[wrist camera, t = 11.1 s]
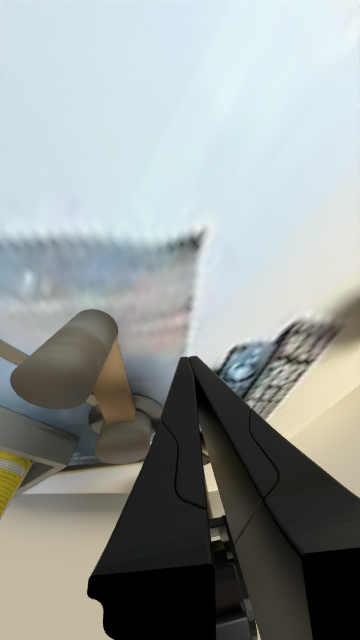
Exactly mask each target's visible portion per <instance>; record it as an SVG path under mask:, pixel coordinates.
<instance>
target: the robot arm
mask: <svg viewBox="0 0 360 640" xmlns="http://www.w3.org/2000/svg"><path fill="white" fill-rule="evenodd" d="M199 423H200V427H201V430H202V434H203V437H204V441H205V444H206V448H207V451H208V455H209V456H207V455H205V454H203V453H202V448H201V438H200V428H199ZM210 462H211V465H212V469H213V472H214V476H215V479H216V483H217V486H218V490H219V494H220V497H221V501H222V504H223V508H224V511H225V515H222V517H219V518H214V519H213V515H212V510H211V505H210V500H209V495H208V490H207V484H206V479H205V474H204V468H203V466H204V465H206V464H208V463H210ZM216 536H220V539H221V540H216V541H212V542H211V537H216ZM87 595H88V597H89V598H91V599H95V600H97V601H99V602H100V603H101V605H102V606H103V628H104V631H105V633H106V634H107V635H108V636H109V637H110V638H112V639H114V640H257V628H256V624H257V627H258V630H259V634H260V637H261V640H360V498H359V497H357V496H356V495H355V494H353V493H352V492H351V491H349V490H348V489H347V488H346V487H344V486H343V485H342V484H340V483H339V482H338V481H337V480H335V479H334V478H333V477H332V476H330V475H329V474H328V473H327V472H326V471H324V470H323V469H322V468H321V467H320V466H318V465H317V464H316V463H315V462H313V461H312V460H311V459H310V458H308V457H307V456H306V455H305V454H303V453H302V452H301V451H300V450H299V449H297V448H296V447H295V446H294V445H292V444H291V443H290V442H289V441H288V440H287V439H285V438H284V437H283V436H282V435H281V434H279V433H278V432H277V431H276V430H275V429H274V428H272V427H271V426H270V425H269V424H268V423H267V422H266V421H265V420H264V419H263V418H262V417H260V416H259V415H258V414H257V413H256V412H255V411H254V410H253V409H252V408H251V409H250V406H249V405H248V404H247V403H246V402H245V401H244V400H242V399H241V398H240V397H239V396H238V395H237V394H236V393H235V392H234V391H233V390H232V389H231V388H230V387H229V386H228V385H227V384H226V383H225V382H224V381H223V380H222V379H220V378H219V377H218V376H217V375H216V374H215V373H214V372H213V371H212V370H211V369H210V368H209V367H208V366H207V365H206V364H205V363H204V362H203V361H202V360H201V359H199V358H198V357H197V356H190V357H189V358H188V357H181V358H180V360H179V363H178V366H177V369H176V372H175V375H174V378H173V381H172V384H171V387H170V390H169V393H168V396H167V399H166V402H165V405H164V409H163V412H162V415H161V418H160V421H159V423H158V427H157V430H156V433H155V435H154V438H153V441H152V444H151V446H150V449H149V451H148V454H147V456H146V459H145V461H144V463H143V466H142V468H141V470H140V473H139V475H138V477H137V479H136V482H135V484H134V486H133V488H132V490H131V493H130V495H129V497H128V499H127V502H126V504H125V506H124V508H123V511H122V513H121V515H120V518H119V519H118V522H117V524H116V526H115V528H114V530H113V533H112V535H111V537H110V539H109V541H108V543H107V545H106V547H105V549H104V551H103V553H102V555H101V557H100V559H99V561H98V563H97V565H96V567H95V569H94V571H93V572H92V574H91V576H90V578H89V580H88V589H87ZM255 620H256V623H255Z"/></svg>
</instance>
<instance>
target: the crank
mask: <svg viewBox="0 0 360 640" xmlns="http://www.w3.org/2000/svg"><path fill="white" fill-rule="evenodd" d="M117 334H118V327H117V324H116V322H115V321H114V319H113V318H112V317H111V316H110V315H108V314H107V313H105V312H103V311H100V310H94V309H89V310H84V311H81V312H80V313H78V314H77V315H76V316H75V317H74V318H73V319H71V320H70V321H69V322H68V323H67V324H66V325H65V326H63V327H62V328H61V329H60V330H59V331H58V332H57V333H55V334H54V335H53V336H52V337H51V338H50V339H49V340H47V341H46V342H45V343H44V344H43V345H42V346H41V347H39V348H38V349H37V350H36V351H35V352H34V353H33V354H32V355H30V356H29V357H28V358H27V359H26V360H25V361H24V362H22V363H21V364H20V365H19V366H18V367H17V368H16V369H15V370H14V371H13V372H12V374H11V377H10V382H11V386H12V388H13V390H14V391H15V392H16V393H17V395H19V396H20V397H21V398H22V399H24V400H25V401H27V402H29V403H31V404H34V405H36V406H39V407H43V408H48V409H68V408H73V407H76V406H78V405H80V404H82V403H84V402H85V401H86V400H87V399H88V397H89V396H90V393H91V391H92V392H93V394H94V396H95V398H96V401H97V403H98V405H99V408H100V410H101V412H102V415H103V417H104V420H103V423H102V426H101V430H100V433H99V436H98V439H97V442H96V445H95V448H94V455H95V457H96V458H97V459H99V460H100V461H103V462H105V463H110V464H128V463H132V462H136V461H138V460H141V459H142V458H144V457H145V456H146V455H147V454H148V451H149V449H150V430H151V421H150V418H149V417H148V416H147V415H146V414H144V413H142V412H139V411H136V409H135V405H134V402H133V398H132V394H131V390H130V386H129V383H128V379H127V375H126V371H125V367H124V364H123V360H122V356H121V352H120V348H119V345H118V341H117Z"/></svg>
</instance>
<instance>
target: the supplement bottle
mask: <svg viewBox="0 0 360 640" xmlns="http://www.w3.org/2000/svg"><path fill="white" fill-rule="evenodd" d="M33 462H34V461H33V460H30V459H26V458H23V457H19V456H16V455H12V454H9V453H5V452H2V451H0V519H1V517H2V515H3V513H4V512H5V510H6V508H7V507H8V505H9V503H10V501H11V500H12V498H13V496H14V495H15V493H16V491H17V490H18V488H19V486H20V484H21V483H22V481H23V479H24V478H25V476H26V474H27V473H28V471H29V469H30V467H31V466H32V464H33Z"/></svg>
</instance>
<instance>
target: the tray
mask: <svg viewBox="0 0 360 640" xmlns="http://www.w3.org/2000/svg"><path fill="white" fill-rule="evenodd" d="M78 440H79V438H78V437H76V436H73V435H71V434H68V433H66V432H63V431H61V430H58V429H56V428H53V427H51V426H48V425H46V424H43V423H41V422H38V421H36V420H33V419H31V418H28V417H26V416H23V415H21V414H18V413H16V412H13V411H11V410H8V409H6V408H3V407H1V406H0V451H2V452H5V453H9V454H12V455H16V456H19V457H23V458H26V459H30V460H33V461H34V462H33V464H32V466H31V467H30V469H29V471H28V473H27V474H26V476H25V478H24V479H23V481H22V483H21V484H20V486H19V488H18V490H17V491H16V493H15V495H14V496H13V498H15V497H17V496H18V495H20V494H22V493H23V492H25V491H27V490H28V489H30V488H32V487H33V486H35V485H37V484H38V483H40V482H42V481H43V480H45V479H47V478H48V477H50V476H52V475H53V474H55V473H57V472H58V471H60V470H62V469H63V468H65V467H67V466H68V464H69V461H70V459H71V457H72V454H73V452H74V449H75V447H76V444H77V442H78Z"/></svg>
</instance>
